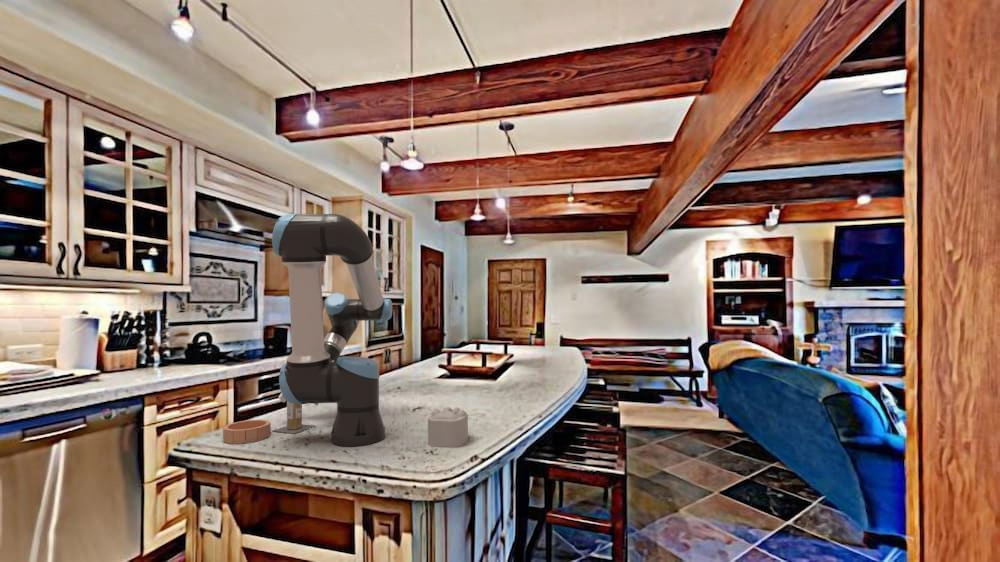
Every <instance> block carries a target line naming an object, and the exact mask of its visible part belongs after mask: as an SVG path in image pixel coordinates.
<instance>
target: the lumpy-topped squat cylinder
mask: <svg viewBox="0 0 1000 562" xmlns="http://www.w3.org/2000/svg"><path fill="white" fill-rule="evenodd" d="M468 416H469V415H468V413H467V412H466V411H465V410H463V409H461V408H460V407H454V408H453V409H452V408H451V407H448V406H446V407H445V408H444V409H442V410H440V409H439V408H437V409H434V410H433V411H432V412H431V414H430V416H429V417H428V418H427V444H428V446H429V447H432V448H458V447H462V446H463V445H465V444H466V443H467V442H468V440H469V428H468V427H469V421H468V419H469V417H468Z"/></svg>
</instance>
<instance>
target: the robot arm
mask: <svg viewBox="0 0 1000 562" xmlns="http://www.w3.org/2000/svg"><path fill="white" fill-rule="evenodd" d="M271 235H272V236H271V246H272V248H273V253H274V254H275V255H276V256H278V257H281V263H282V265H284V266H285V267H286V268H287V270H288V291H289V309H290V310H289V313H290V315H289V316H290V335H291V353H290V354H289V356H287V357H286V363H284V364H282V366H281V368H280V371H279V376H278V381H279V389H280V394H279V396H278V398H277V399H279V400H280V401H281V402H282V403H286V402H287V401H288V402H289V403H297V404H302V405H307V404H314V406H319V404H333V403H334V404H335V403H336V407H337V408H336V416H335V419H334V423H333V425H332V429H331V432H330V443H332V444H333V445H335V446H340V447H359V446H365V445H366V446H367V445H370V444H371V445H372V444H375V443H377V442H380V441H382V440H384V439H385V437H386V427H385V425H384V422H383V418H382V415H381V412H380V372H379V370H380V369H379V364H378V363H379V362H377V361H376V360H375V359H373V358H370V357H369V358H368V357H363V356H350V355H349V356H345V355H344V356H343V355H342V356H340V355H341V354H342V352H343V351H344V348H346V345H348V342H349V341H350V339H351V338H352V336H353V335H354V333H355V332H356V331H357V328H358V326H359V324H360V321H363V322H365V321H367V322H368V321H388V320H390V319H391V318H392V316H393V302H392V300H391V299H390V298H385V297H384V296H383V293H382V289H381V285H380V282H379V278H378V276H377V271H376V268H375V264H374V261H373V257H372V256H373V254H374V248H373V244H372V242H371V240H370V238H369V237H370V236H368V234H367V233H366V232H365V230H364V229H363V228H362V227H361V225H359V224H357V223H356V222H355V221H354V220H352V219H351V218H349V217H347V216H345V215H342V214H337V213H327V214H326V213H291V214H284V215H282V216H280V217H278V219H277V220H276V222H275V223H274V226H273V231H272V234H271ZM327 256H338V257H339V258H340V260H341V261H342V262H343V263H344V264H346V266H347V268H348V272H349V274H350V277H351V279H352V282H353V285H354V288H355V290H356V293H357V296H358V298H355V299H354V298H347V296H346V295H345V294H344V293H342V292H333V293H331V294H329V295H328V296H327V297H325V300H324V307H325V312H326V314H327V318H328V320H329V323H330V325H331V328H330V329H329V331H328V332H327V334H326V335H325V333H324V312H323V311H324V310H323V309H324V308H323V288H322V283H323V282H322V267H323V266H324V264H326V263H327Z"/></svg>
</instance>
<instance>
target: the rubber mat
mask: <svg viewBox="0 0 1000 562" xmlns="http://www.w3.org/2000/svg"><path fill="white" fill-rule="evenodd" d="M315 426H316V425H312V424H304V423H302V427H301V428H299V429H295V430H289V429H287V425H285V426H282V427H279V428H276V429H271V432H272V431H273V433H279V432H283V433H282V434H287V433H292V434H291V435H296V434H295V433H297V434H300V433H302V432H305V431H308V430H310V429H309V428H311V429H313V428H312V427H314V428H316V427H315ZM307 429H308V430H307ZM304 430H305V431H304ZM301 431H302V432H301ZM284 432H285V433H284ZM299 432H300V433H299Z"/></svg>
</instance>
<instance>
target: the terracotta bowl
mask: <svg viewBox="0 0 1000 562" xmlns="http://www.w3.org/2000/svg"><path fill="white" fill-rule="evenodd" d="M271 425H272V422H271V421H269V420H267V419H249V420H240V421H236V422H232V423H228V424H226V425H225V426H223V428H222V438H223V443H224V442H225V443H224V444H227V443H228V444H229V445H243V444H244V443H245V444H251V442H252V443H256V442H255V441H257V442H260V441H263V440H265V438H266V439H267V437H268V438H269V437H270V435H271V433H272V429H271V427H272V426H271ZM262 439H263V440H262ZM259 440H260V441H259Z"/></svg>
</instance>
